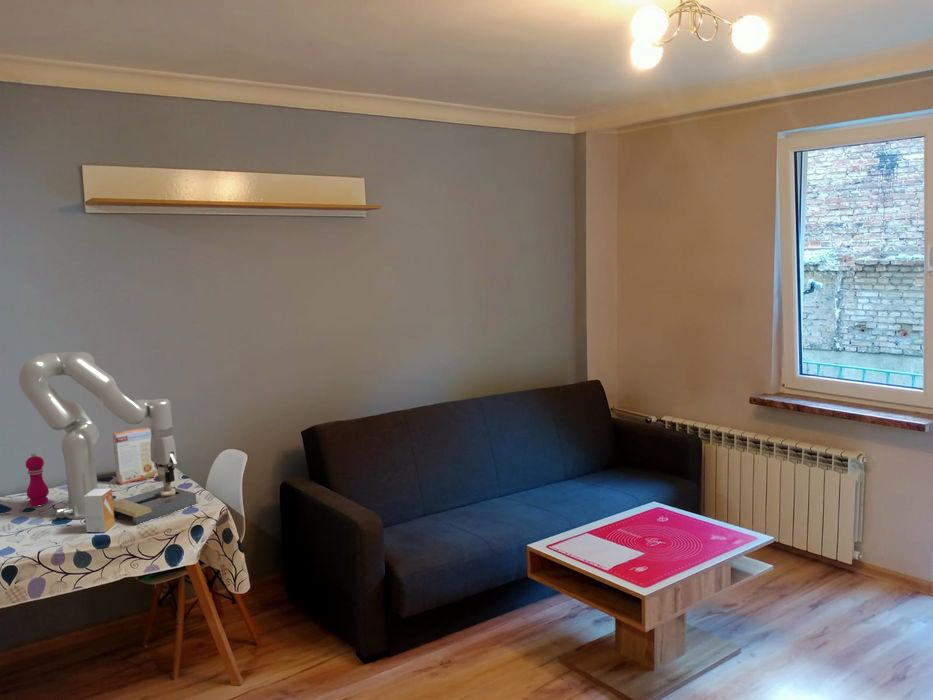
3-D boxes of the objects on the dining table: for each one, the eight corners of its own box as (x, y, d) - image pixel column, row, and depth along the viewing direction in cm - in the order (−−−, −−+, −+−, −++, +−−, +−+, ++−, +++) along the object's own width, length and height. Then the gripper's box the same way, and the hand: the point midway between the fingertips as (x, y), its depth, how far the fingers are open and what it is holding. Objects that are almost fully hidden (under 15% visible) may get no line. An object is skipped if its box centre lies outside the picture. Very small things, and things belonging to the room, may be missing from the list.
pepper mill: (29, 508, 274) (24, 456, 272) (26, 503, 280) (20, 452, 277) (51, 504, 279) (46, 452, 276) (47, 499, 284) (42, 449, 282)
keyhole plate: (136, 525, 254) (135, 513, 254) (108, 515, 265) (106, 503, 264) (196, 505, 274) (195, 493, 273) (168, 496, 284) (167, 485, 283)
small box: (105, 532, 249) (102, 495, 247) (86, 533, 248) (82, 496, 246) (115, 523, 257) (112, 487, 255) (96, 524, 256) (93, 488, 254)
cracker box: (151, 474, 314) (147, 426, 311) (155, 477, 309) (151, 429, 306) (116, 481, 305) (111, 432, 302) (120, 485, 300) (116, 435, 298)
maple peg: (166, 498, 270) (163, 469, 269) (158, 496, 273) (155, 467, 272) (178, 494, 274) (175, 465, 273) (170, 492, 277) (167, 464, 276)
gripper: (139, 432, 272) (144, 480, 274) (166, 437, 262) (170, 487, 265) (158, 427, 278) (162, 474, 281) (184, 433, 268) (189, 481, 271)
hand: (166, 480), depth 273 cm, fingers closed on maple peg, 4 cm apart
